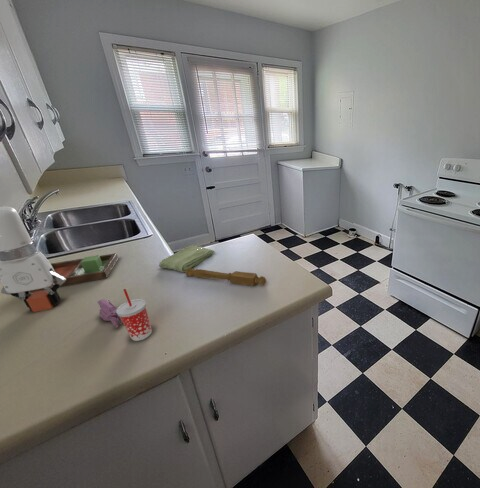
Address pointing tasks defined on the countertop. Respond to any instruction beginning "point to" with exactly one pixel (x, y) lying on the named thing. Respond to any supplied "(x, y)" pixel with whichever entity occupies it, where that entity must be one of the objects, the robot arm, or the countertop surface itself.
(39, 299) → the terracotta block
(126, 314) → the beverage cup
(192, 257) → the washcloth
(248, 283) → the tap handle
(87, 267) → the green block
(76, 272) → the tray
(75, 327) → the countertop surface
